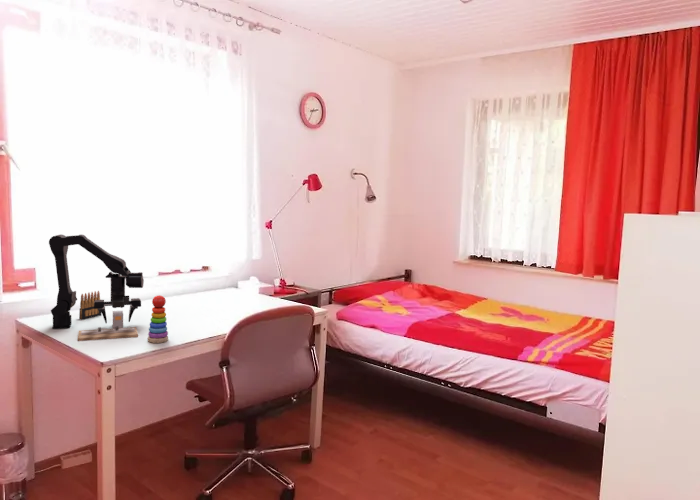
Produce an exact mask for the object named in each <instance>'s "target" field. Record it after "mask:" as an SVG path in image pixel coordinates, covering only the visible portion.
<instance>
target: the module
mask: <svg viewBox="0 0 700 500" xmlns="http://www.w3.org/2000/svg"><path fill="white" fill-rule="evenodd" d="M116 326H118V328H124V312H123V310H112V329H113V328H116Z"/></svg>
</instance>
